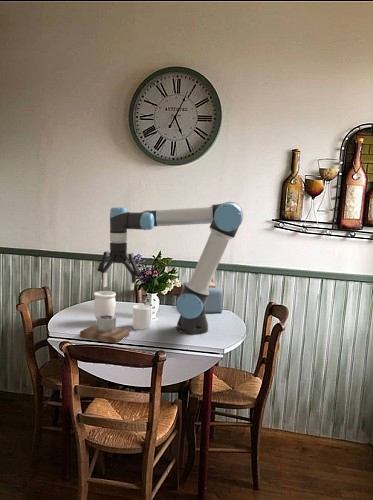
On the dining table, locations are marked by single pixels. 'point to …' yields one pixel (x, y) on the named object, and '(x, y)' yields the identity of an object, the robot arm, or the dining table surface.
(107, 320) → the hub
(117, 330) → the post block
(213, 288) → the toaster
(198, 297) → the robot arm
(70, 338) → the dining table surface
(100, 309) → the jar
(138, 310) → the cup
